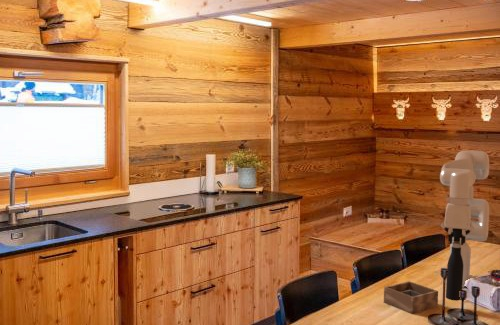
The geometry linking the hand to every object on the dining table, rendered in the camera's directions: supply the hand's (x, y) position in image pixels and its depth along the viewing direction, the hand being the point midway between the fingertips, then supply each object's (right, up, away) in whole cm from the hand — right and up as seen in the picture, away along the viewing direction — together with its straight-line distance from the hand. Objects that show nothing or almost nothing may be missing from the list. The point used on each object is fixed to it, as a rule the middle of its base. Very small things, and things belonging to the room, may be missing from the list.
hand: (456, 243), depth 243 cm
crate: (-17, -28, +8) cm, 34 cm away
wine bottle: (0, -24, +3) cm, 24 cm away
